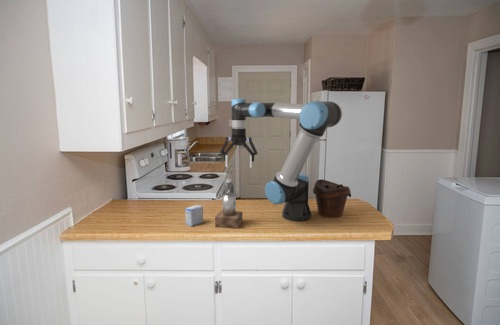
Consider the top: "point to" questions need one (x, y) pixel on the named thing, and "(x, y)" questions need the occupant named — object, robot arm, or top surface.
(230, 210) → the food tin
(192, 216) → the medicine box
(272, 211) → the top surface
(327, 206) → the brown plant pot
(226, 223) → the walnut block
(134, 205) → the top surface
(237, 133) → the robot arm
